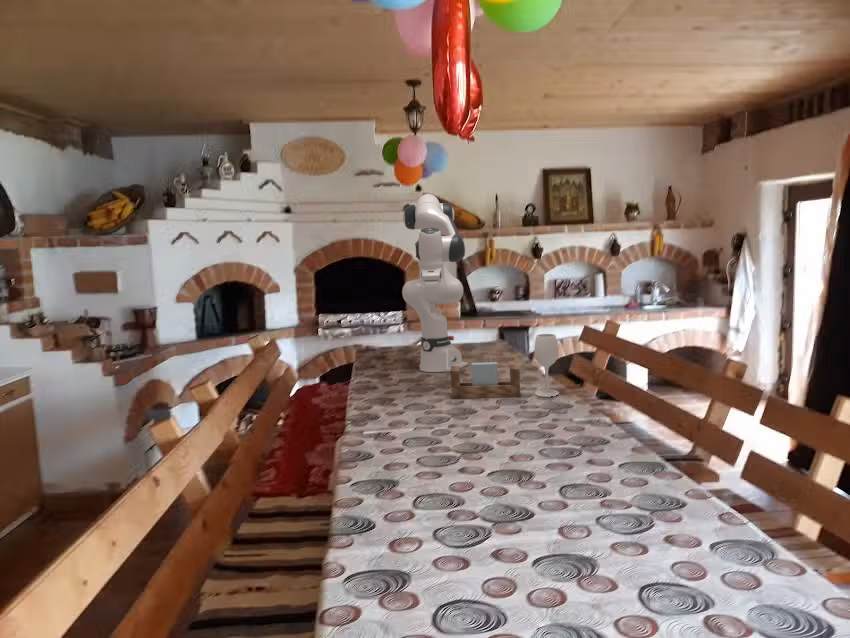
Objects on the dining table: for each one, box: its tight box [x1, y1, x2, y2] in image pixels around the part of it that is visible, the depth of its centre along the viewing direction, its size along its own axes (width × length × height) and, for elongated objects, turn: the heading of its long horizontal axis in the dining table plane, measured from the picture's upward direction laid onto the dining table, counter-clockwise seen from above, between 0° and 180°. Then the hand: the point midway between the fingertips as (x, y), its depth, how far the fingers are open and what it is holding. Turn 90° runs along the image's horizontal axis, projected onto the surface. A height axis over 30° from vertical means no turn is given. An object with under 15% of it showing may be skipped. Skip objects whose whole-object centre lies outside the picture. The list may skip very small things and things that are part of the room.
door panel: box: [471, 361, 499, 386], centre depth 232 cm, size 9×4×10 cm, turn 86°
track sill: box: [449, 363, 521, 400], centre depth 233 cm, size 24×8×10 cm, turn 86°
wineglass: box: [534, 333, 560, 398], centre depth 229 cm, size 9×9×21 cm
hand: (433, 310), depth 241 cm, fingers open, 8 cm apart
